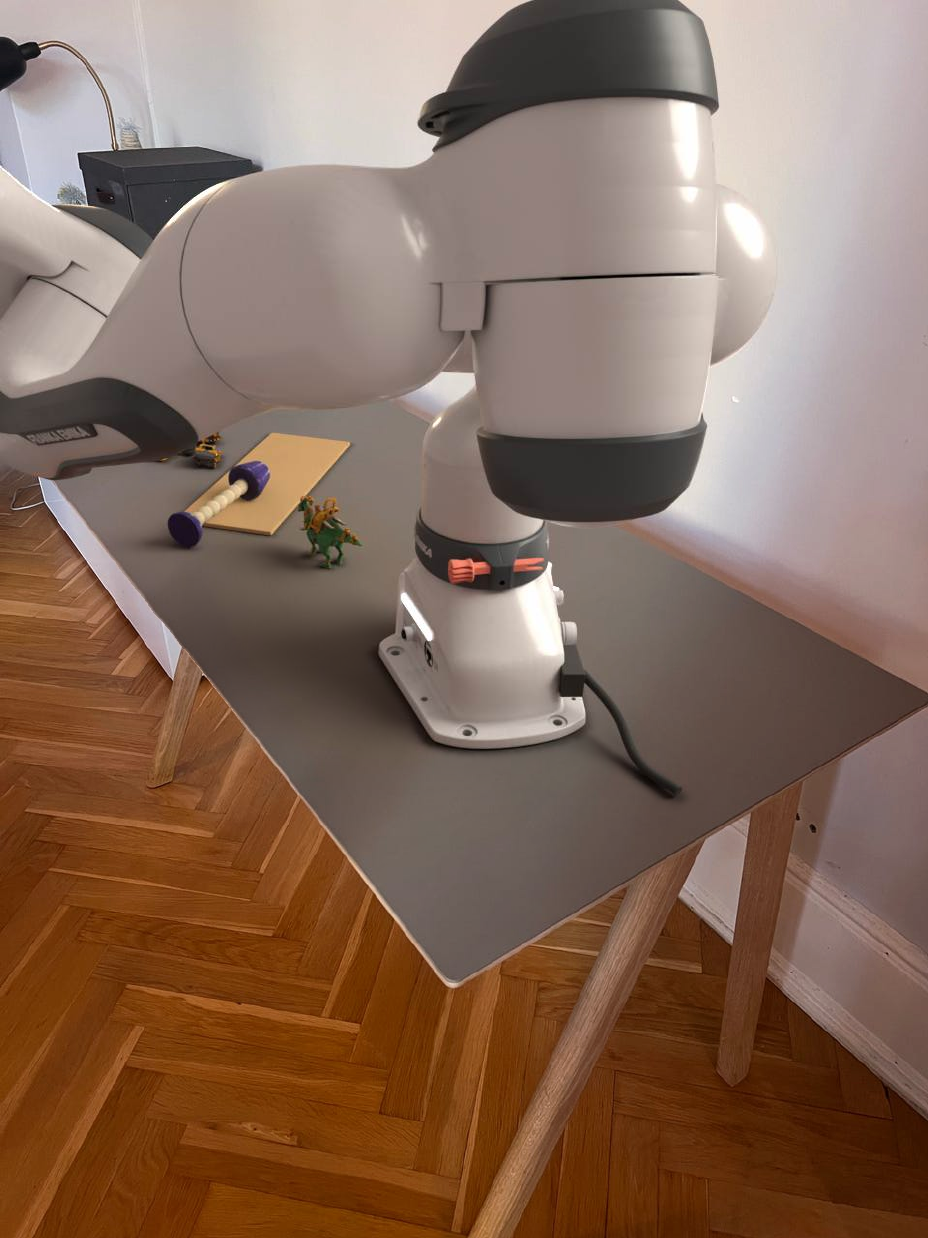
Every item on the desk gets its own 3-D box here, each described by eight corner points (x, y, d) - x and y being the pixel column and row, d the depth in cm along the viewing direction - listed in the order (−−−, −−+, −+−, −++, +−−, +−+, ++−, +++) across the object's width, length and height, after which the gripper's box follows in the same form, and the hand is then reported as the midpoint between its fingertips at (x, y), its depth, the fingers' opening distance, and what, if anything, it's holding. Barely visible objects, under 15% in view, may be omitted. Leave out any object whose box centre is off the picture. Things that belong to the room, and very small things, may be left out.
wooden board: (271, 535, 107) (270, 531, 107) (176, 522, 109) (176, 518, 109) (350, 445, 132) (350, 441, 132) (272, 435, 134) (271, 432, 134)
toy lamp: (207, 548, 103) (280, 488, 116) (197, 511, 101) (272, 454, 114) (172, 546, 105) (247, 487, 118) (161, 509, 102) (239, 453, 115)
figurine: (312, 539, 107) (308, 475, 102) (374, 580, 100) (373, 512, 95) (289, 547, 105) (285, 481, 101) (351, 588, 98) (349, 520, 93)
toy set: (256, 446, 130) (254, 414, 128) (206, 474, 121) (202, 439, 119) (188, 430, 134) (184, 399, 132) (135, 456, 125) (129, 423, 123)
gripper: (-56, 345, 75) (40, 420, 88) (175, 372, 72) (238, 445, 85) (-33, 278, 76) (58, 362, 89) (195, 300, 73) (254, 384, 86)
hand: (147, 403), depth 87 cm, fingers closed
